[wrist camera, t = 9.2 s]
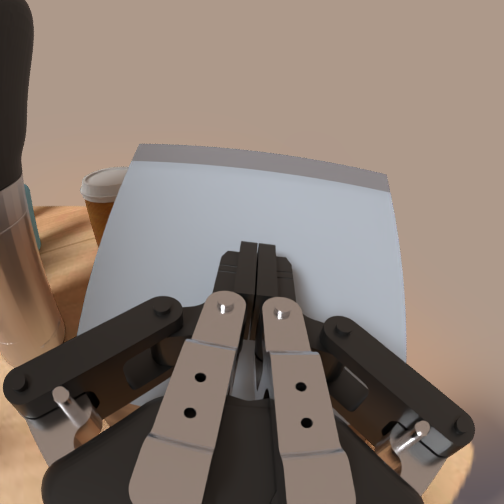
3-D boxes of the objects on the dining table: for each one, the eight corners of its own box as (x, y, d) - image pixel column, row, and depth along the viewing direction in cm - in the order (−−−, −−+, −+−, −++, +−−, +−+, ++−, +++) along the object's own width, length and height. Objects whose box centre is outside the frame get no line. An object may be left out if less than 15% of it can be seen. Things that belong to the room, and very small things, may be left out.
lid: (91, 384, 12) (69, 384, 10) (147, 167, 18) (139, 143, 16) (380, 414, 13) (402, 418, 11) (372, 195, 19) (386, 174, 17)
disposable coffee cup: (141, 274, 36) (133, 187, 30) (81, 268, 35) (66, 187, 29) (157, 239, 44) (155, 166, 38) (105, 235, 43) (97, 166, 37)
